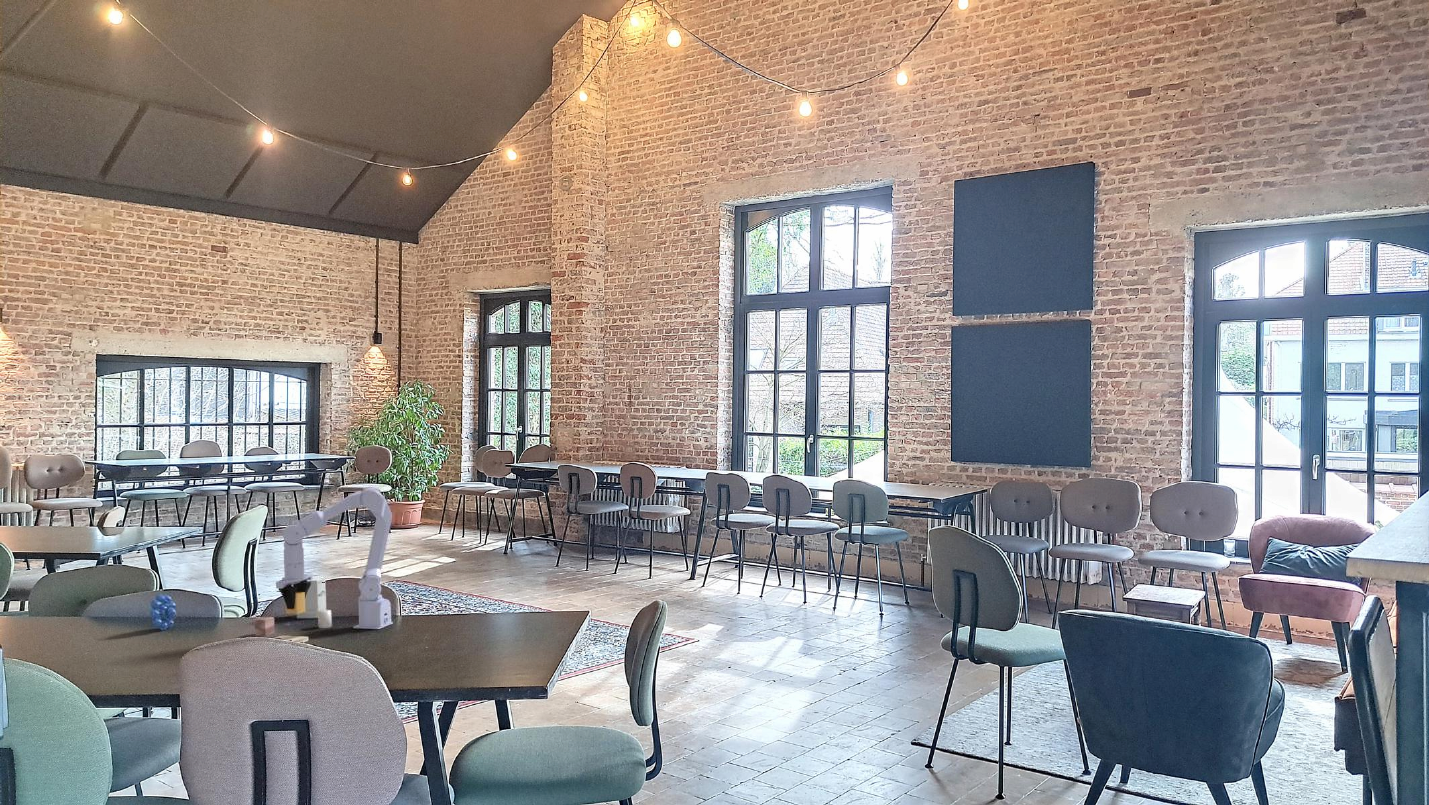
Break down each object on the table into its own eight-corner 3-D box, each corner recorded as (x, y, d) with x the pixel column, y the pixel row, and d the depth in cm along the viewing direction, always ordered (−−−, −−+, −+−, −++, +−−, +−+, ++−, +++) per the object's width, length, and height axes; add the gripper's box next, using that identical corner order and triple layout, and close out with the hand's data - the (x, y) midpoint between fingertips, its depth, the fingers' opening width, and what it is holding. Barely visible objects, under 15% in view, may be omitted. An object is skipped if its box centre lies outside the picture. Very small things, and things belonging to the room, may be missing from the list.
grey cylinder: (334, 625, 327) (333, 610, 327) (326, 628, 323) (325, 612, 323) (323, 625, 328) (323, 609, 328) (315, 628, 324) (315, 612, 324)
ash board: (308, 640, 307) (308, 636, 307) (285, 649, 298) (285, 645, 298) (280, 639, 310) (280, 635, 310) (257, 647, 301) (257, 643, 301)
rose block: (274, 633, 319) (274, 617, 319) (265, 636, 315) (265, 620, 315) (264, 632, 320) (263, 616, 320) (254, 635, 316) (254, 619, 316)
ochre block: (305, 611, 317) (304, 592, 317) (296, 614, 313) (296, 594, 313) (294, 610, 318) (293, 591, 318) (285, 613, 314) (285, 594, 314)
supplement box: (318, 618, 339) (317, 580, 338) (296, 618, 339) (295, 581, 339) (327, 613, 346) (326, 576, 346) (305, 613, 346) (304, 576, 346)
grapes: (164, 634, 321) (163, 597, 321) (144, 634, 322) (143, 597, 322) (187, 626, 332) (186, 589, 332) (168, 626, 333) (167, 589, 333)
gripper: (298, 559, 323) (300, 601, 324) (266, 567, 309) (268, 611, 310) (317, 559, 321) (319, 602, 322) (286, 567, 307) (288, 612, 308)
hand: (295, 607), depth 315 cm, fingers closed on ochre block, 4 cm apart
